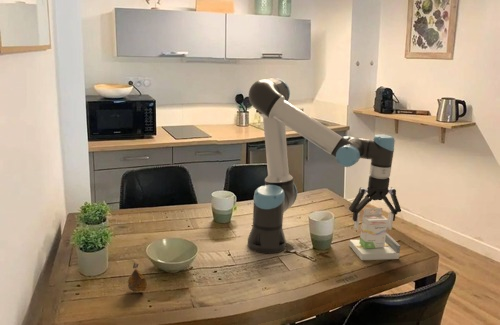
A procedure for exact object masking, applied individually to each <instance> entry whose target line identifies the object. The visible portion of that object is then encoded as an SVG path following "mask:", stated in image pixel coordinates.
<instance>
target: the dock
mask: <svg viewBox="0 0 500 325" xmlns="http://www.w3.org/2000/svg"><path fill="white" fill-rule="evenodd" d="M359 242H360V239H349V244H348V245H349V246H348V247H350V248H351V249H352V251H353V252H354V253H355V254H356V255H357V257H358V259H360V260H361V261H374V260H376V261H380V260H399V259H400V252H401V245H400V244H399V243H398V242H397V241H396V240H395V239H394V238H393V237H392V236H391V235H390V234H389V233H388V232H386V238H385V245H384V247H381V248H366V249H365V248H364V247H363V246H362V245H361V244H359Z"/></svg>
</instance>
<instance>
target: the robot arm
mask: <svg viewBox="0 0 500 325" xmlns="http://www.w3.org/2000/svg"><path fill="white" fill-rule="evenodd" d="M290 95H291V91H290V87H289V85H288V84H287V82H285V81H284V80H283V79H280V78H278V77H270V78H265V79H264V78H263V79H259V80H257V81H255V82H254V83H253V84H252V85H251V86H250V88H249V91H248V101H249V103H250V105H252V107H253V108H254V109H255V110H256V111H258V114H259V115H260V116H261V117H262V120H263V132H264V143H265V155H266V166H267V169H266V170H267V176H266V177H265V178H264V185H261V186H258V187H257V188H256V189H255V190H254V195H253V213H252V226H251V228H250V229H251V230H250V233H249V234H248V237H247V247H248V248H249V249H250V250H252V251H253V252H256V253H262V254H276V253H279V252H282V251H284V250H285V249H286V247H285V246H286V243H287V241H286V237H285V233H284V229H283V225H284V224H283V223H284V222H283V221H284V213H285V212H286V211H287V210H288V209H289V208H291V207H292V206H293V205H294V204H295V202H296V200H297V197H298V189H297V186H296V184H295V183H294V177H293V176H292V175H291V174H290V173H289V172H290V171H289V160H288V145H287V144H288V143H287V136H286V135H287V132H286V127H287V128H289V129H291V130H292V131H293V132H295V133H296V134H298V135H299V136H301V137H303V138H305V140H308V141H309V142H310V143H312V144H314V145H315V146H317V147H318V148H320V149H321V150H323V151H324V152H326V153H327V154H330V156H332V157H334V158H335V159H336V162H337V163H338V164H339V165H340V166H341V167H345V168H350V167H353V166H354V165H356V164H357V163H358V162H359V161H360V159H364V160H370V167H369V176H368V183H367V188H364V187H359V189H358V193H357V194H356V196H355V197H354V199H353V201H352V202H351V204H350V206H349V207H348V210H349V211H350V212H351V213H352V221H353V229H355V230H356V231H359V226H360V218H361V214H360V212H361V211H362V210H364V209H365V208H366V206H367V205H368V204H369V203H370V202H372V201H382V200H383V202H384V203H385V204H386V206H387V207H388V209H389V210H390V211H388V215H387V219H388V223H387V230H388V231H389V230H391V231H392V228H393V222H394V221H395V220H396V215H397V214H398V213H401V211H402V209H401V206H400V205H401V204H400V203H399V200H398V197H397V190H396V189H395V188H394V187H392V186H391V187H390V188H389V185H390V181H391V180H390V177H391V172H392V164H393V159H394V158H393V157H394V153H395V152H394V151H395V143H396V142H395V141H396V140H395V138H394V137H393V136H391V135H388V134H375V135H374V137H373V138H372V139H371V138H362V137H356V136H352V135H351V136H345V135H344V136H342V135H340V134H338V133H337V132H335V131H334V130H332V129H331V128H330V127H328V126H327V125H325V124H323V123H321V122H320V121H319V120H316V119H315V118H314V117H312V116H310V115H309V114H308V113H306V112H304V111H303V110H301V109H300V108H298V107H296V106H295V105H293V104H292V103H290V102H289V100H290ZM388 194H390V197H391V199H392V203H391V201H390V200H389V199H388V197H387V195H388Z"/></svg>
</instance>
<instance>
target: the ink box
mask: <svg viewBox="0 0 500 325" xmlns="http://www.w3.org/2000/svg"><path fill="white" fill-rule="evenodd" d="M373 211H374V212H373ZM382 213H383V208H382V207H373V208H372V207H369V208H363V215H362V218H361V219H362V220H361V228H360V236H359V240H360V242H359V244H361V245H362V246H363V247H364V248H365V249H366V248H381V247H384V245H385V238H386V233H387V230H388V228H387V223H388V217H386V216H384V215H382Z"/></svg>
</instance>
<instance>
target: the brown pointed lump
mask: <svg viewBox="0 0 500 325" xmlns="http://www.w3.org/2000/svg"><path fill="white" fill-rule="evenodd" d="M138 267H139V263H137V262H133V266H132V268H133V269H134V270H133V272H132V273H131V275H130V276H129V277H128V279H127V281H128V289H129V290H130V291H132V292H133V293H135V292H139V291H140V292H142V291H143V292H145V291H146V290H147V286H148V283H147V279H146V277H145V276H144V275H143V274H142V273H141V272H140V271H139V270H138V269H139V268H138Z"/></svg>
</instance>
